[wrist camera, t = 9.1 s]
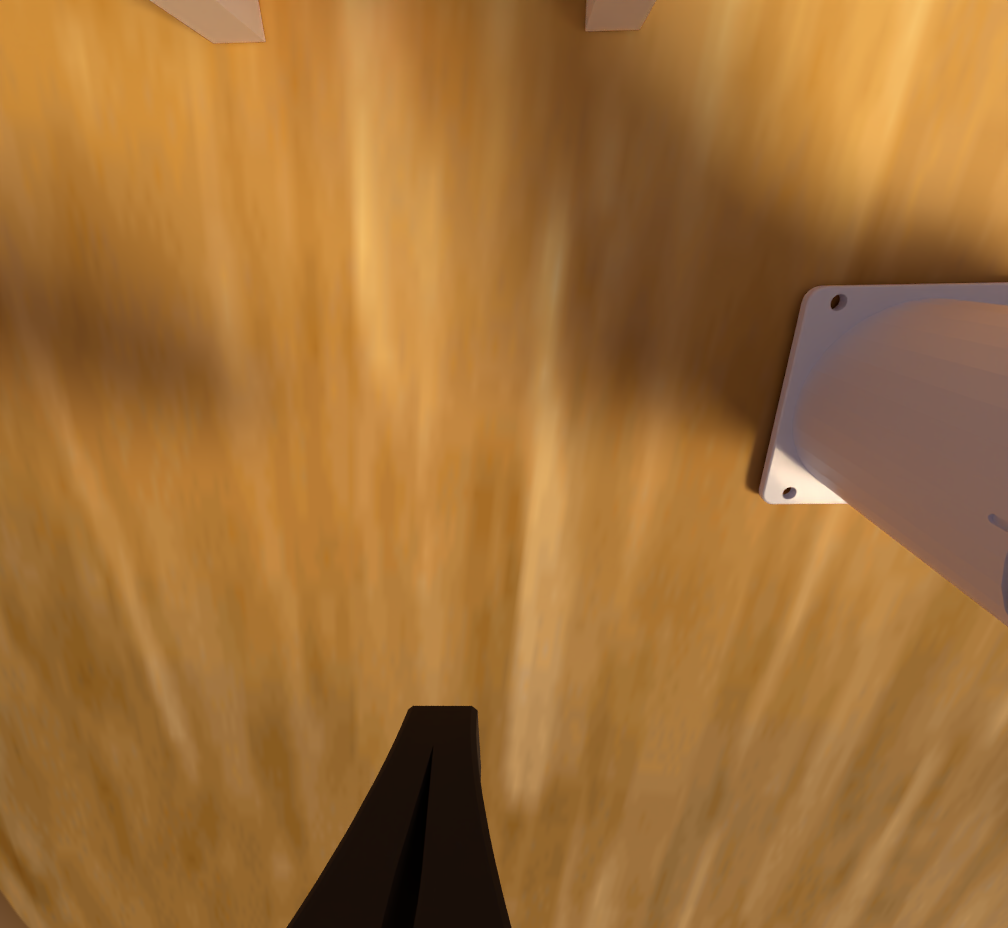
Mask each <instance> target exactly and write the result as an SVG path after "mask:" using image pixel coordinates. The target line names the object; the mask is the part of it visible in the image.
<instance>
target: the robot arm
mask: <svg viewBox="0 0 1008 928" xmlns="http://www.w3.org/2000/svg"><path fill="white" fill-rule="evenodd" d="M836 295H839V296H840V302H839V304H838V305H837V306H836V307H835V308H834V309H832V308H831V301H832V299H833V298H834V297H835V296H836ZM789 487H791V490H790V491H789V492H788V493H787V494H783V495H782V493H783V491H784V490H785V489H787V488H789ZM759 495H760V496H761V498H762V499H763V500H764V501H766V502H767V503H770V504H849V505H851V506H852V507H853V508H854V509H856V510H857V511H858V512H860V513H861V514H862V515H864V516H865V517H866V518H867V519H869V520H870V521H871V522H873V523H874V524H875V525H877V526H878V527H879V528H880V529H882V530H883V531H884V532H886V533H887V534H888V535H890V536H891V537H892V538H893V539H895V540H896V541H897V542H899V543H900V544H901V545H903V546H904V547H905V548H906V549H908V550H909V551H910V552H912V553H913V554H914V555H916V556H917V557H918V558H919V559H921V560H922V561H923V562H925V563H926V564H927V565H929V566H930V567H931V568H932V569H934V570H935V571H936V572H938V573H939V574H940V575H941V576H943V577H944V578H945V579H947V580H948V581H949V582H951V583H952V584H953V585H954V586H956V587H957V588H958V589H960V590H961V591H962V592H964V593H965V594H966V595H967V596H969V597H970V598H971V599H973V600H974V601H975V602H977V603H978V604H979V605H980V606H982V607H983V608H984V609H986V610H987V611H988V612H990V613H991V614H992V615H993V616H995V617H996V618H997V619H999V620H1000V621H1001V622H1003V623H1004V624H1005V625H1006V626H1008V282H993V283H937V284H882V285H826V286H817V287H814V288H812V289H811V290H809V291H808V292H807V293H806V294H805V296H804V298H803V300H802V303H801V307H800V312H799V316H798V321H797V325H796V329H795V334H794V338H793V342H792V347H791V351H790V356H789V360H788V364H787V369H786V373H785V377H784V382H783V386H782V391H781V395H780V399H779V404H778V408H777V413H776V417H775V421H774V426H773V430H772V434H771V439H770V443H769V448H768V452H767V456H766V461H765V465H764V469H763V474H762V478H761V483H760V487H759ZM287 928H511V924H510V920H509V917H508V913H507V909H506V905H505V901H504V897H503V893H502V889H501V884H500V880H499V876H498V871H497V867H496V863H495V858H494V854H493V849H492V844H491V839H490V835H489V829H488V823H487V818H486V812H485V807H484V801H483V796H482V789H481V762H480V745H479V728H478V711H477V710H476V709H475V708H474V707H472V706H412V707H411V708H410V709H408V711H407V714H406V716H405V719H404V721H403V723H402V726H401V728H400V730H399V732H398V735H397V737H396V739H395V741H394V743H393V745H392V747H391V750H390V752H389V754H388V756H387V758H386V760H385V762H384V764H383V766H382V768H381V770H380V772H379V774H378V776H377V777H376V779H375V781H374V783H373V785H372V787H371V789H370V790H369V792H368V794H367V796H366V798H365V800H364V801H363V803H362V805H361V807H360V809H359V811H358V812H357V814H356V816H355V818H354V820H353V821H352V823H351V825H350V827H349V828H348V830H347V832H346V834H345V835H344V837H343V839H342V840H341V842H340V843H339V845H338V847H337V848H336V850H335V852H334V853H333V855H332V857H331V858H330V860H329V862H328V863H327V865H326V867H325V868H324V870H323V872H322V873H321V875H320V877H319V878H318V880H317V881H316V883H315V885H314V886H313V888H312V889H311V891H310V892H309V894H308V896H307V897H306V899H305V900H304V902H303V903H302V905H301V906H300V908H299V910H298V911H297V913H296V914H295V916H294V917H293V919H292V920H291V922H290V923H289V925H288V926H287Z"/></svg>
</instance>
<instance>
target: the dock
mask: <svg viewBox="0 0 1008 928" xmlns="http://www.w3.org/2000/svg"><path fill="white" fill-rule="evenodd" d="M150 1H151V2H153V3H154V4H156V5H157V6H159V7H160V8H162V9H163V10H165V11H166V12H168V13H169V14H171V15H172V16H174V17H175V18H177V19H178V20H180V21H181V22H182V23H184V24H185V25H187V26H188V27H190V28H191V29H193V30H194V31H196V32H197V33H199V34H200V35H202V36H203V37H205V38H206V39H208V40H209V41H211V42H212V43H242V42H266V41H265V35H264V30H263V24H262V18H261V13H260V7H259V1H258V0H150ZM655 2H656V0H586V23H585V31H614V30H640V28H641V26H642V25H643V23H644V21H645V19H646V18H647V16H648V14H649V12H650V11H651V9H652V7H653V5H654V4H655Z"/></svg>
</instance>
